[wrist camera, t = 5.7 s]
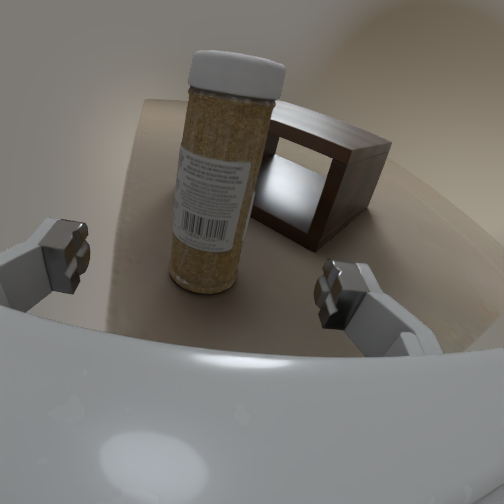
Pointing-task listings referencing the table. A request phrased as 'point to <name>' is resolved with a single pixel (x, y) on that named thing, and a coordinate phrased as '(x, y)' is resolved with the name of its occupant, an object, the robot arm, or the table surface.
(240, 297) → the table surface
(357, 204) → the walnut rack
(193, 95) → the sprinkles bottle
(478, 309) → the table surface
